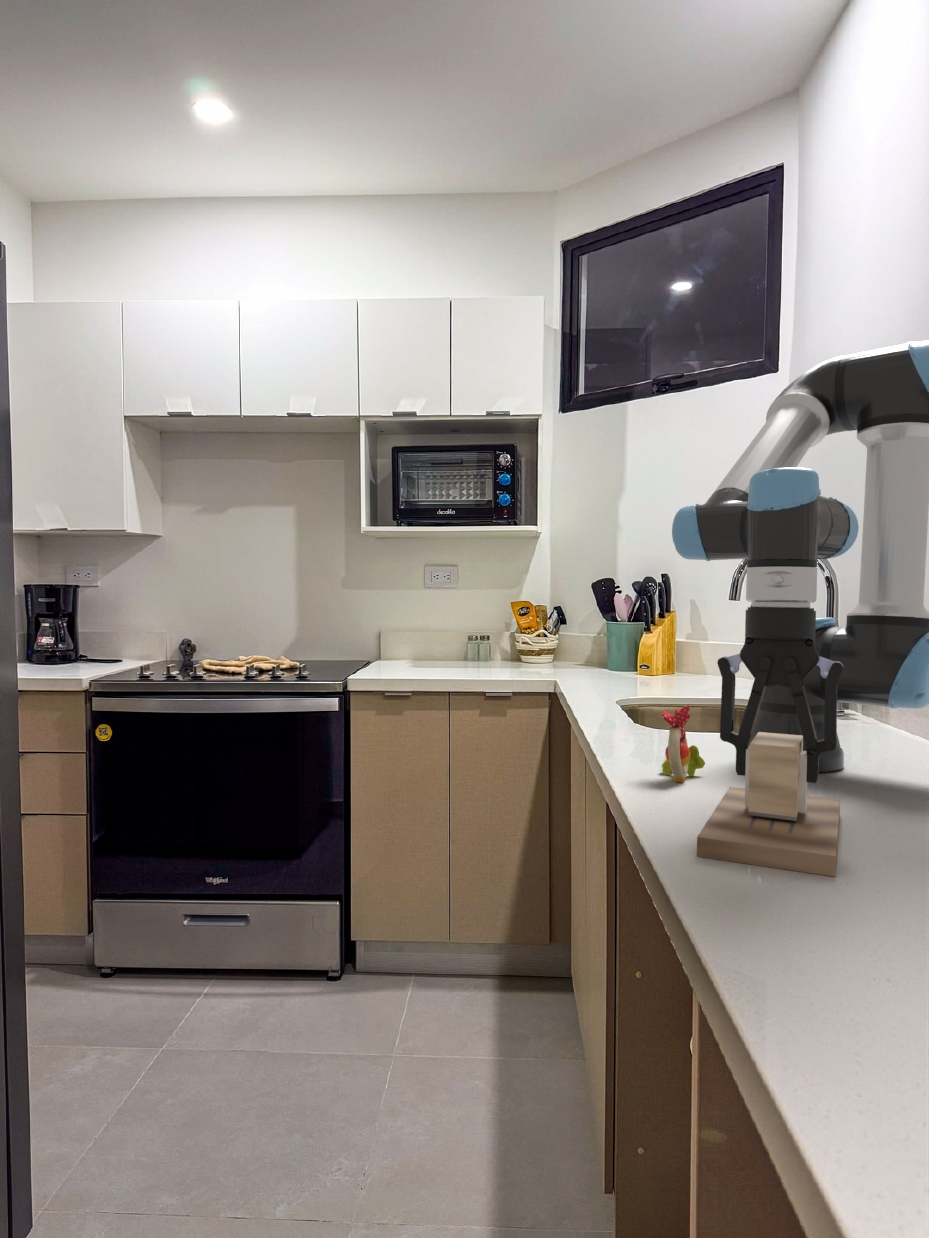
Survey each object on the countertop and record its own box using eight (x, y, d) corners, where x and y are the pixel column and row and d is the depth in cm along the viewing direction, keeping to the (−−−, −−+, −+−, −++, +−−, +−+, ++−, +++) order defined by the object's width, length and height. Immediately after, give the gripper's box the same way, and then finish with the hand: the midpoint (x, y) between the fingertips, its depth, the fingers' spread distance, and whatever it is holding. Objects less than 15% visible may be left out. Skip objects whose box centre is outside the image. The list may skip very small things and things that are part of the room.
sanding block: (757, 797, 98) (758, 731, 97) (801, 802, 95) (803, 735, 95) (748, 814, 90) (749, 743, 89) (796, 820, 87) (798, 747, 87)
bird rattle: (702, 798, 114) (706, 761, 122) (700, 732, 110) (705, 698, 117) (657, 794, 116) (664, 758, 124) (654, 729, 112) (661, 696, 120)
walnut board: (729, 802, 104) (729, 786, 104) (839, 815, 98) (839, 798, 98) (696, 856, 82) (697, 836, 82) (835, 876, 77) (836, 855, 77)
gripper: (693, 604, 92) (689, 804, 93) (869, 606, 84) (863, 825, 85) (705, 604, 99) (700, 790, 100) (868, 606, 91) (862, 809, 92)
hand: (775, 806), depth 92 cm, fingers closed on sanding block, 5 cm apart
